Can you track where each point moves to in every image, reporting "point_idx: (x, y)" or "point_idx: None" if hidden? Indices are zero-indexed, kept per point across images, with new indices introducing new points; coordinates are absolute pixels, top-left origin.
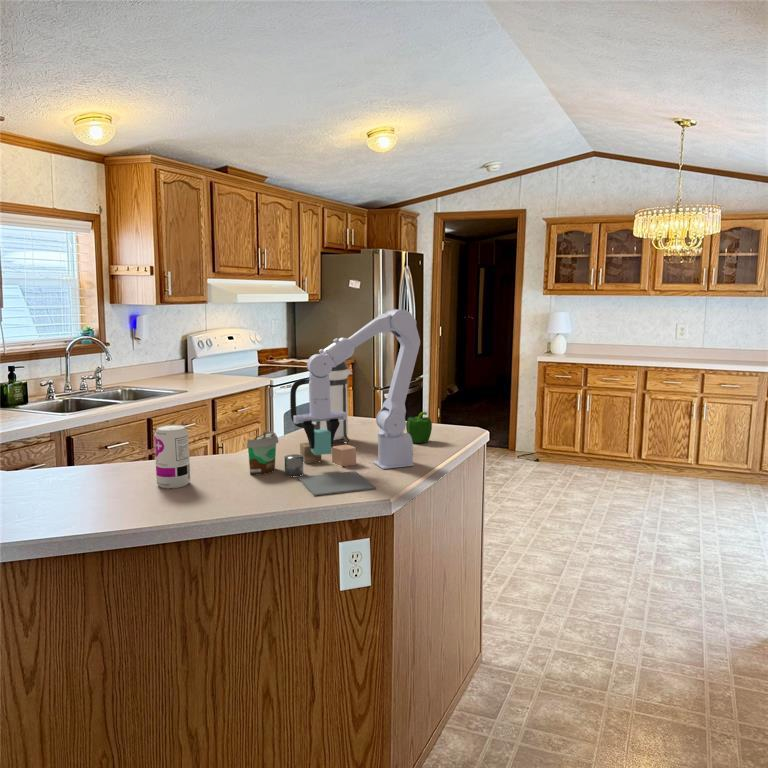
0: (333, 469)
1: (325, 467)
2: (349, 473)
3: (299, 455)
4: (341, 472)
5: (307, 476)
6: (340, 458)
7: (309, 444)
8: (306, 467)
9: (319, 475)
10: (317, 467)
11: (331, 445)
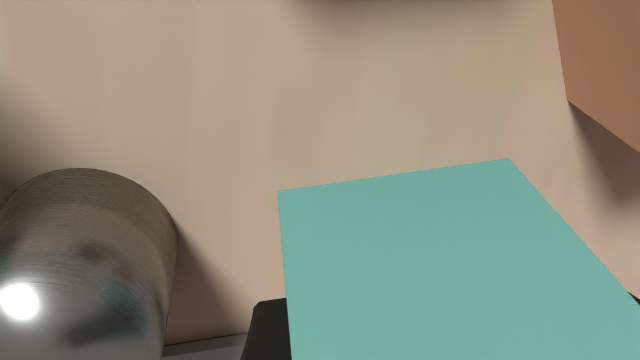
0: (470, 155)
1: (420, 69)
2: None
3: (108, 340)
4: None
5: (206, 357)
6: (613, 119)
7: (250, 335)
8: (222, 19)
9: None
10: (341, 49)
11: None
